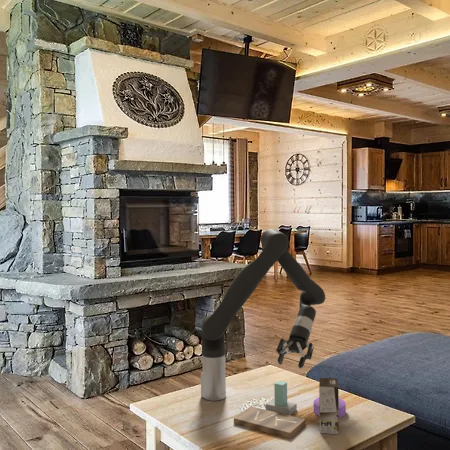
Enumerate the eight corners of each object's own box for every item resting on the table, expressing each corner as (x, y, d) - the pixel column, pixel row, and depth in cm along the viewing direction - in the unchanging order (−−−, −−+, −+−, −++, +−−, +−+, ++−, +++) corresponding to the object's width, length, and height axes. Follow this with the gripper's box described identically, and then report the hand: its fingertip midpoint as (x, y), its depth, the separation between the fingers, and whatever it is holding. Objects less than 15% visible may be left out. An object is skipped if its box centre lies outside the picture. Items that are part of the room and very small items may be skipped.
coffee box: (339, 434, 167) (338, 387, 166) (319, 433, 168) (319, 386, 167) (338, 423, 176) (338, 377, 175) (319, 421, 177) (319, 376, 176)
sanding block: (265, 410, 188) (265, 382, 187) (273, 404, 193) (272, 378, 192) (289, 416, 182) (289, 387, 182) (296, 410, 187) (296, 382, 187)
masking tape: (307, 412, 185) (307, 402, 185) (324, 403, 194) (324, 393, 194) (335, 421, 177) (335, 411, 177) (351, 411, 186) (351, 401, 186)
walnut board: (233, 423, 177) (233, 418, 177) (250, 411, 187) (250, 406, 187) (290, 438, 165) (290, 432, 164) (305, 424, 175) (305, 419, 174)
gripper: (282, 322, 204) (269, 357, 195) (315, 326, 196) (303, 363, 187) (288, 332, 209) (276, 367, 200) (320, 336, 201) (309, 373, 192)
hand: (289, 365), depth 193 cm, fingers open, 8 cm apart
